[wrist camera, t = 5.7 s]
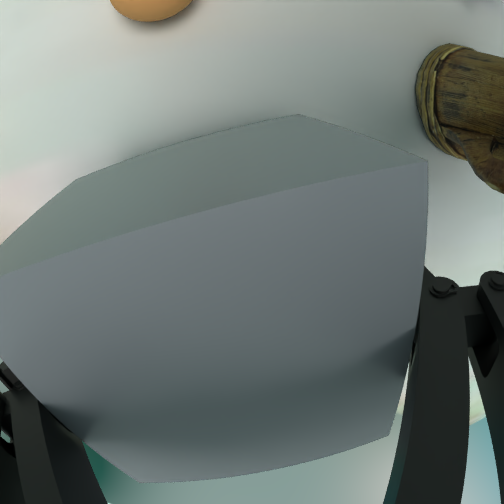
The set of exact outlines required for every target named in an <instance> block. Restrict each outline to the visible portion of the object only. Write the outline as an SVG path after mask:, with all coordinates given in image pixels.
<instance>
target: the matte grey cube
mask: <svg viewBox="0 0 504 504" xmlns="http://www.w3.org/2000/svg"><path fill="white" fill-rule="evenodd" d="M427 216H428V161H427V160H424V159H422V158H420V157H418V156H415V155H413V154H411V153H408V152H406V151H403V150H401V149H399V148H396V147H394V146H391V145H389V144H386V143H383V142H381V141H378V140H376V139H373V138H370V137H368V136H365V135H362V134H359V133H356V132H354V131H351V130H348V129H345V128H342V127H339V126H336V125H333V124H330V123H327V122H323V121H320V120H317V119H314V118H310V117H307V116H303V115H300V114H297V115H291V116H286V117H281V118H276V119H271V120H267V121H262V122H257V123H253V124H248V125H244V126H240V127H236V128H232V129H228V130H224V131H220V132H216V133H212V134H208V135H205V136H201V137H198V138H194V139H190V140H187V141H184V142H180V143H177V144H174V145H170V146H167V147H164V148H161V149H158V150H155V151H151V152H148V153H145V154H142V155H140V156H137V157H134V158H131V159H128V160H125V161H122V162H120V163H117V164H114V165H112V166H109V167H106V168H104V169H101V170H98V171H96V172H93V173H91V174H88V175H86V176H83V177H81V178H78V179H76V180H75V181H73V182H72V183H71V184H69V185H68V186H67V187H66V188H64V189H63V190H62V191H61V192H59V193H58V194H57V195H56V196H54V197H53V198H52V199H51V200H50V201H48V202H47V203H46V204H45V205H44V206H43V207H41V208H40V209H39V210H38V211H37V212H36V213H34V214H33V215H32V216H31V217H30V218H29V219H28V220H27V221H25V222H24V223H23V224H22V225H21V226H20V227H19V228H18V229H17V230H16V231H15V232H13V233H12V234H11V235H10V236H9V237H8V238H7V239H6V240H5V241H4V242H3V243H2V244H1V245H0V357H1V359H2V360H3V361H4V362H5V364H6V365H7V366H8V367H9V368H10V370H11V371H12V372H13V373H14V374H15V375H16V377H17V378H18V379H19V380H20V381H21V382H22V383H23V384H24V385H25V387H26V388H27V389H28V390H29V391H30V392H31V393H32V394H33V395H34V396H35V397H36V398H37V399H38V400H39V401H40V402H41V403H42V404H43V405H44V406H45V407H46V408H47V409H48V410H49V411H50V412H51V413H52V414H53V415H54V416H55V417H56V418H57V419H58V420H59V421H60V422H62V423H63V424H64V425H65V426H66V427H67V428H68V429H69V430H70V431H72V432H73V433H74V434H75V435H76V436H77V437H79V438H80V439H81V440H82V441H83V442H85V443H86V444H87V445H88V446H89V447H91V448H92V449H93V450H95V451H96V452H97V453H98V454H100V455H101V456H102V457H104V458H105V459H106V460H108V461H109V462H110V463H112V464H113V465H114V466H116V467H117V468H119V469H120V470H121V471H123V472H124V473H126V474H127V475H129V476H130V477H132V478H133V479H135V480H136V481H138V482H139V483H165V482H183V481H184V482H185V481H198V480H209V479H218V478H226V477H233V476H240V475H247V474H253V473H259V472H264V471H269V470H274V469H279V468H284V467H288V466H293V465H297V464H300V463H305V462H309V461H313V460H316V459H320V458H324V457H327V456H330V455H334V454H337V453H340V452H344V451H347V450H350V449H353V448H356V447H358V446H362V445H364V444H367V443H370V442H373V441H375V440H378V439H381V438H383V437H386V436H388V435H389V433H390V430H391V427H392V424H393V420H394V417H395V414H396V410H397V407H398V403H399V400H400V396H401V392H402V388H403V384H404V380H405V376H406V372H407V368H408V363H409V359H410V354H411V349H412V344H413V339H414V334H415V328H416V323H417V317H418V310H419V304H420V296H421V289H422V281H423V272H424V262H425V250H426V236H427Z"/></svg>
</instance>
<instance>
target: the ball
mask: <svg viewBox="0 0 504 504" xmlns="http://www.w3.org/2000/svg"><path fill="white" fill-rule="evenodd" d="M191 1H192V0H110V2H111V4H112V5H113V6H114V8H115V9H116V10H117V11H118V12H119V13H120V14H122V15H123V16H125V17H128V18H130V19H133V20H137V21H145V22H151V21H159V20H163V19H166V18H169V17H171V16H173V15H175V14H177V13H179V12H180V11H182V10H183V9H184V8H185V7H186V6H188V5H189V4H190V2H191Z"/></svg>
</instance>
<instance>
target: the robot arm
mask: <svg viewBox="0 0 504 504" xmlns="http://www.w3.org/2000/svg"><path fill="white" fill-rule="evenodd" d="M468 356H469V359H470V362H471V365H472V368H473V372H474V375H475V378H476V381H477V384H478V388H479V391H480V395H481V398H482V402H483V406H484V410H485V413H486V417H487V422H488V426H489V430H490V434H491V439H492V444H493V449H494V454H495V460H496V466H497V473H498V480H499V487H500V496H501V504H504V273H503V272H499V271H488V272H485V273H484V274H483V275H482V276H481V278H480V282H479V285H476V286H467V287H459V286H458V285H457V284H456V283H455V282H454V281H453V280H451V279H448V278H445V277H435V276H434V275H433V274H432V273H431V272H430V271H429V270H428V269H427V268H426V267H425V266H424V272H423V281H422V289H421V296H420V304H419V310H418V317H417V323H416V328H415V334H414V339H413V344H412V349H411V354H410V359H409V372H408V381H407V389H406V397H405V404H404V411H403V417H402V424H401V429H400V435H399V440H398V445H397V449H396V455H395V459H394V463H393V468H392V472H391V476H390V480H389V484H388V487H387V491H386V495H385V499H384V502H383V504H461V498H462V492H463V486H464V479H465V471H466V462H467V451H468V438H469V415H470V385H469V361H468ZM0 380H1V381H2V383H3V384H4V385H5V386H6V387H7V388H8V389H9V391H7V392H4V393H1V392H0V436H1V430H2V431H3V432H4V433H5V434H6V435H8V436H9V437H10V443H8V442H6V441H5V440H4V439H3V438H2V437H0V504H108V503H107V501H106V499H105V497H104V495H103V493H102V491H101V488H100V486H99V484H98V481H97V479H96V477H95V474H94V472H93V469H92V467H91V464H90V462H89V459H88V456H87V454H86V451H85V448H84V446H83V443H82V440H81V439H80V438H79V437H77V436H76V435H75V434H74V433H73V432H72V431H70V430H69V429H68V428H67V427H66V426H65V425H64V424H63V423H62V422H60V421H59V420H58V419H57V418H56V417H55V416H54V415H53V414H52V413H51V412H50V411H49V410H48V409H47V408H46V407H45V406H44V405H43V404H42V403H41V402H40V401H39V400H38V399H37V398H36V397H35V396H34V395H33V394H32V393H31V392H30V391H29V390H28V389H27V388H26V387H25V385H24V384H23V383H22V382H21V381H20V380H19V379H18V378H17V377H16V375H15V374H14V373H13V372H12V371H11V370H10V368H9V367H8V366H7V365H6V364H5V362H4V361H3V362H2V363H1V364H0Z"/></svg>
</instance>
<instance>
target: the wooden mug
mask: <svg viewBox="0 0 504 504" xmlns="http://www.w3.org/2000/svg"><path fill="white" fill-rule="evenodd" d="M416 97H417V107H418V110H419V113H420V116H421V118H422V121H423V124H424V128H425V131H426V133H427V135H428V137H429V139H430V140H431V141H432V142H433V143H434V144H435V145H436V146H437V147H438V148H439V149H441V150H442V151H443V152H445V153H446V154H449V155H451V156H454V157H456V158H459V159H463V160H466V161H468V162H469V164H470V166H471V167H472V169H473V171H474V172H475V174H476V176H478V177H479V178H480V179H481V180H482V181H483V182H485V183H486V184H487V185H488V186H489V187H491V188H492V189H494V190H496V191H498V192H500V193H503V194H504V58H501V57H498V56H494V55H490V54H486V53H481V52H477V51H475V50H474V49H472V48H468V47H464V46H459V45H455V44H450V43H449V44H445V45H441V46H439V47H437V48H436V49H435V50H433V51H432V52H430V54H429V55H428V56H427V58H426V59H425V60H424V62H423V64H422V66H421V68H420V70H419V72H418V78H417V84H416Z"/></svg>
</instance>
